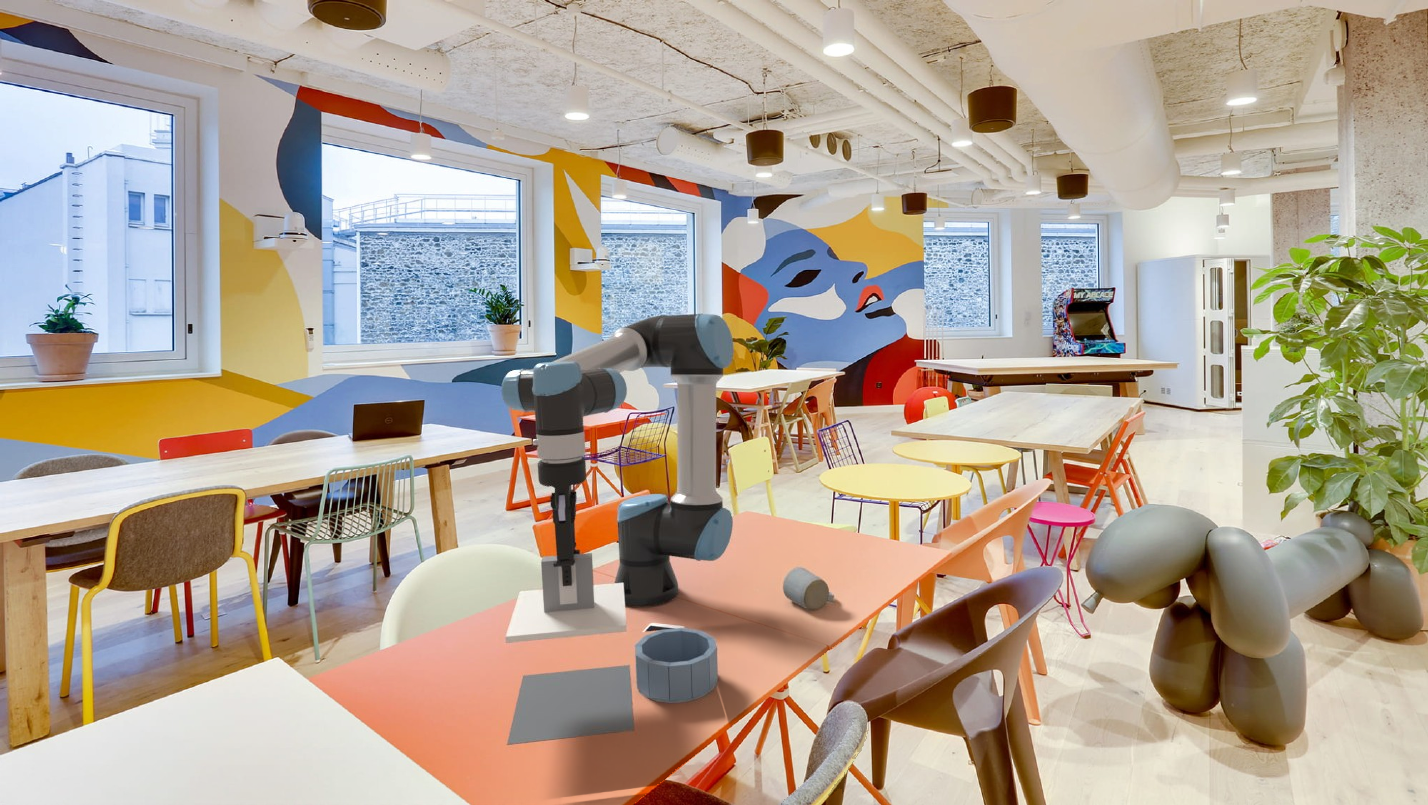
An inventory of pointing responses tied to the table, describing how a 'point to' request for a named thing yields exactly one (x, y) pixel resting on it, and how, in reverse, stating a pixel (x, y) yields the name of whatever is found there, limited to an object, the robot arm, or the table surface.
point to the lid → (568, 606)
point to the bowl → (676, 665)
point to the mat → (573, 704)
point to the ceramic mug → (806, 589)
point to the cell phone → (660, 627)
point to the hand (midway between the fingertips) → (569, 599)
